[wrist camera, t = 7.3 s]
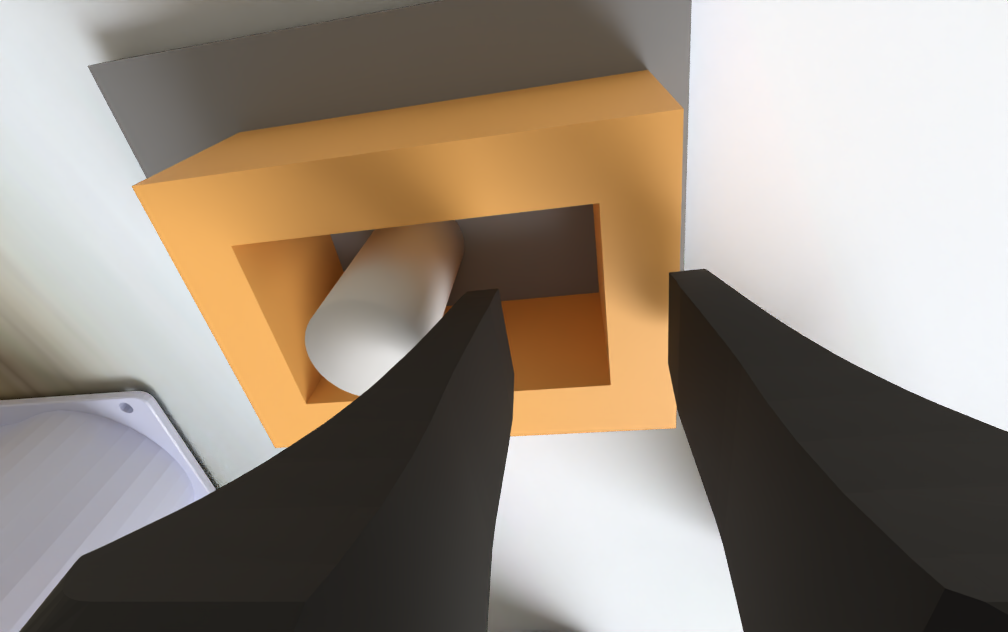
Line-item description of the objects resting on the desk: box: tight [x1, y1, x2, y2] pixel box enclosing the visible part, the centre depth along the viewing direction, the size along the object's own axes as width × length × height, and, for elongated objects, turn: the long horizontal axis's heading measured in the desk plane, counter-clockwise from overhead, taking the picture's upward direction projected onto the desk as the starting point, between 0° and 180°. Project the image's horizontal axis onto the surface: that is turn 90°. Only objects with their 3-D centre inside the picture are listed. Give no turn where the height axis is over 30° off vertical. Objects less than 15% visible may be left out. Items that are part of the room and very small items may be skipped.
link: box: [132, 70, 684, 448], centre depth 13 cm, size 10×7×4 cm
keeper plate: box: [88, 0, 691, 396], centre depth 13 cm, size 14×11×6 cm
